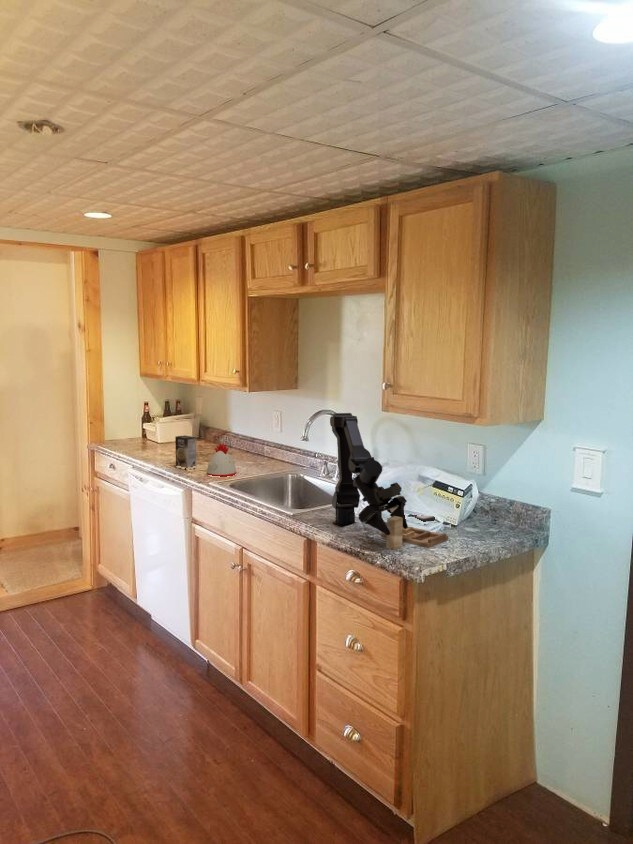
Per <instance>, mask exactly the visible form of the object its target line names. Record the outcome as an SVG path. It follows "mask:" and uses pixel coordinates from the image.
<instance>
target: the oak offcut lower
mask: <svg viewBox="0 0 633 844" xmlns="http://www.w3.org/2000/svg"><path fill="white" fill-rule="evenodd" d="M414 535H415V532H414V531H411V532H409V533H407V534H403V533H402V536H403V537H407V538H409V537H411V536H414Z"/></svg>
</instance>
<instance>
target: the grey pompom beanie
mask: <svg viewBox="0 0 633 844" xmlns="http://www.w3.org/2000/svg"><path fill="white" fill-rule="evenodd" d="M228 450H229V448H228V447H227V445H226V444H225V445H224V444H222V443H219V444H218V445H217V446H216V447H215V448H214V451H215V453H214V454H213V455H212V456H211V458H210V460H209V462H208V465H207V469H206V475H207V474H208V475H212V476H220V477H227V476H233V475H235V474H236V475H237V468H236V465H235V462H236V461H235V460H234V459H233V458H232V456H231V455H230V454H229V453H228Z"/></svg>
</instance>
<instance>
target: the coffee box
mask: <svg viewBox="0 0 633 844" xmlns="http://www.w3.org/2000/svg"><path fill="white" fill-rule="evenodd" d="M174 442H175V467H176V466H181V467H186V468H188V467H193V466H197V437H196V436H192V435H191V436H190V435H186V434H185V435H178V436H177V435H176V436H175V440H174Z"/></svg>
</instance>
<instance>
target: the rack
mask: <svg viewBox="0 0 633 844" xmlns="http://www.w3.org/2000/svg"><path fill="white" fill-rule="evenodd" d="M411 527H412V526H411ZM412 531H414V532H415V535H414V536H411V537H409V538H407V537H403V536H402V543H407V544H410V545H414V546H417V547H422V548H426V549H430V548H432V547H435V546H436V545H440V544H441V543H444V542H446V541H449V535H447V533H445V532H443V533H437V532H434V531H429V530H426V529H425V530H424V529H421V528H417V527H412ZM380 537H383V538H386V539H387V535H386V534H385V533H383V532H381V531H380Z"/></svg>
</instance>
